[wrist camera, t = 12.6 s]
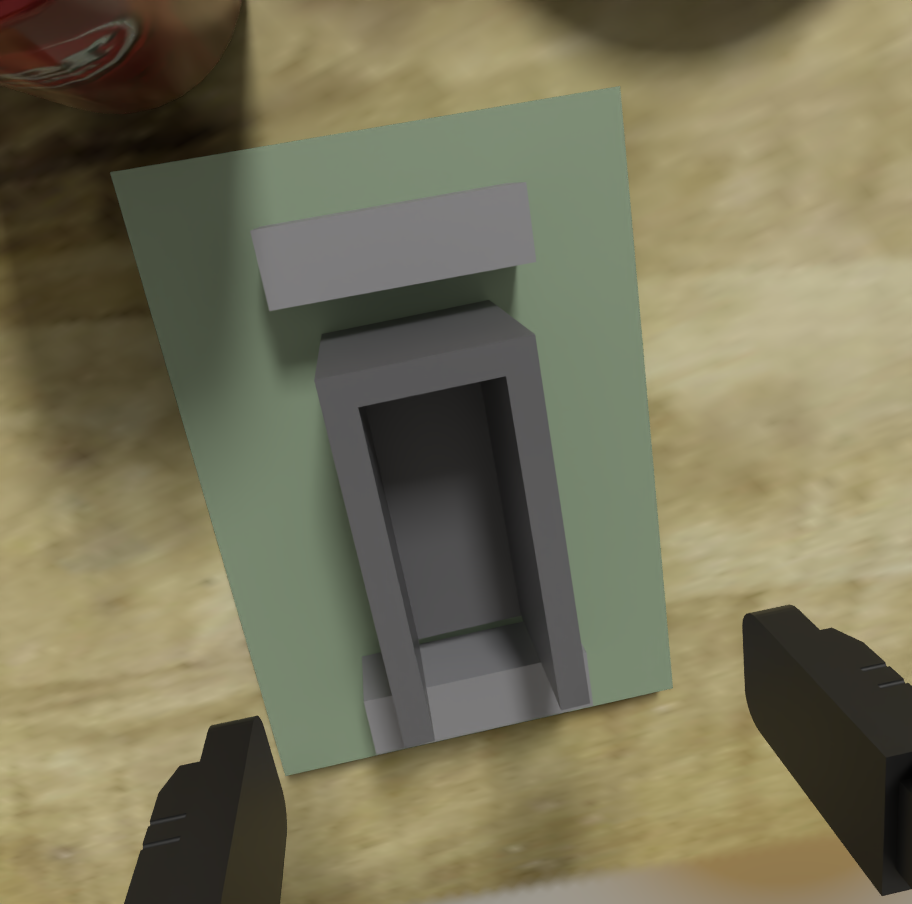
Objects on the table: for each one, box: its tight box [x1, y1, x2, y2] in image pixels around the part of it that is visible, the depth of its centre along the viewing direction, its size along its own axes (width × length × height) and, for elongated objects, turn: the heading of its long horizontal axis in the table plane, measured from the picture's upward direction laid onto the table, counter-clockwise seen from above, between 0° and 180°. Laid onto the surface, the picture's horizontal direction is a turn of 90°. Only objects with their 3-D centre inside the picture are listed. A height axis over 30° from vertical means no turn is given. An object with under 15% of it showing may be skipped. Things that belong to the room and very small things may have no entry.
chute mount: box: [110, 86, 673, 776], centre depth 24 cm, size 20×14×4 cm
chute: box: [314, 300, 590, 748], centre depth 22 cm, size 10×5×6 cm, turn 10°
